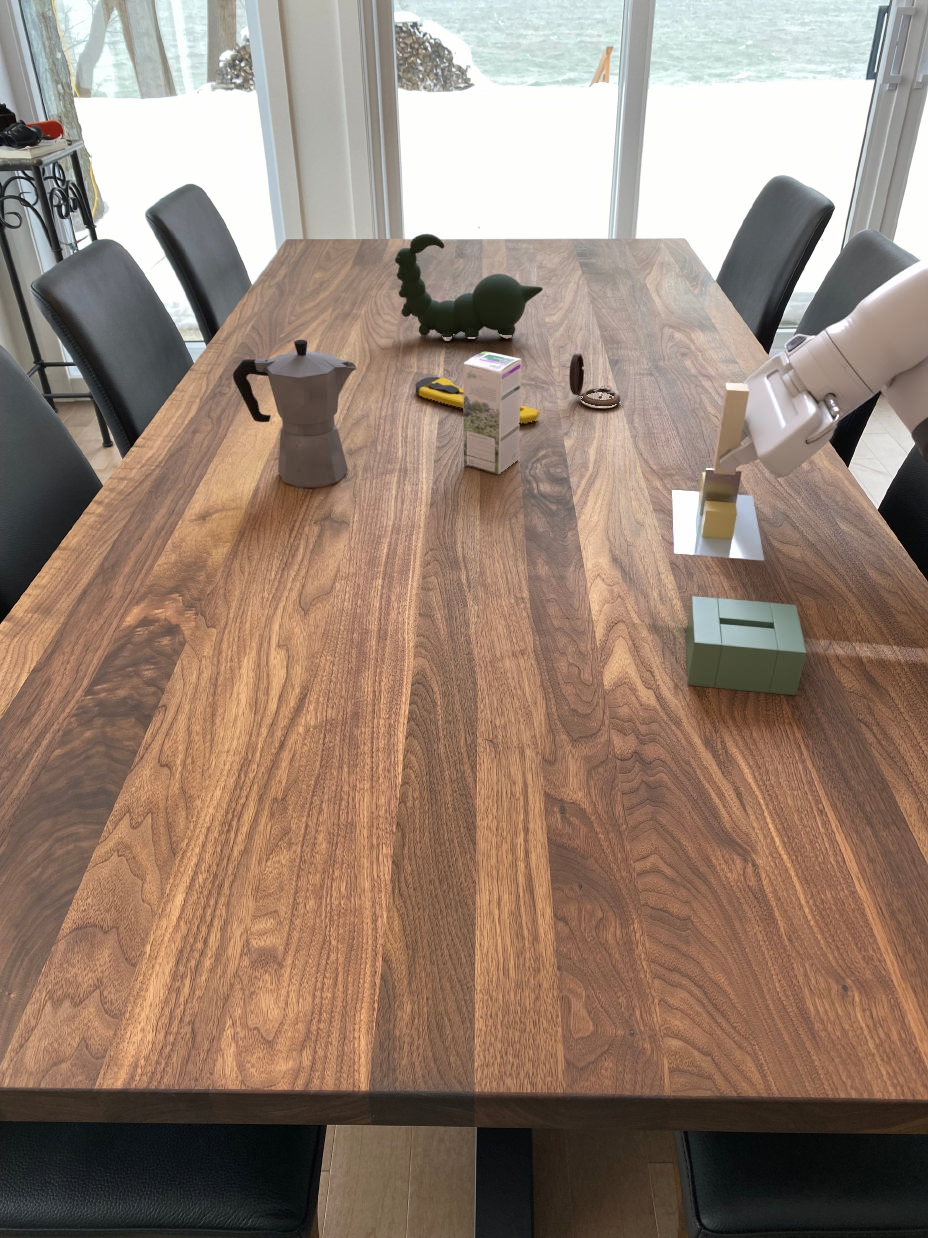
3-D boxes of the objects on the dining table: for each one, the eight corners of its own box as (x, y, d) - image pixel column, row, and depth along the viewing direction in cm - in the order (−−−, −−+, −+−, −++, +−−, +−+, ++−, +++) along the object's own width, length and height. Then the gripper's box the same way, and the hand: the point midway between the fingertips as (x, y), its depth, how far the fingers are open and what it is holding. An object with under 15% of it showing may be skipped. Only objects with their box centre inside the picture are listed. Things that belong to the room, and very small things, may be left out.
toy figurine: (403, 354, 173) (545, 344, 170) (389, 243, 162) (540, 230, 160) (409, 337, 181) (544, 327, 178) (395, 229, 170) (539, 217, 168)
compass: (616, 412, 147) (620, 365, 143) (565, 406, 149) (568, 359, 145) (626, 393, 153) (631, 348, 149) (577, 388, 155) (580, 342, 151)
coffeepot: (364, 457, 134) (356, 327, 124) (361, 488, 126) (352, 352, 116) (252, 459, 133) (234, 328, 123) (241, 490, 126) (221, 353, 115)
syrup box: (520, 460, 133) (524, 356, 125) (498, 476, 129) (500, 370, 121) (484, 450, 136) (485, 348, 127) (461, 466, 132) (461, 361, 123)
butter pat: (731, 529, 115) (735, 502, 113) (732, 539, 113) (737, 512, 111) (700, 526, 116) (705, 500, 114) (701, 537, 114) (705, 510, 112)
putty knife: (733, 512, 117) (755, 383, 108) (734, 522, 115) (757, 391, 106) (699, 510, 117) (718, 381, 108) (699, 519, 115) (719, 389, 106)
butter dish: (751, 502, 123) (752, 495, 122) (763, 568, 110) (764, 560, 109) (671, 496, 124) (672, 489, 124) (673, 560, 111) (674, 553, 111)
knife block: (685, 636, 99) (691, 595, 96) (786, 646, 98) (796, 604, 95) (687, 685, 92) (694, 642, 90) (796, 696, 91) (806, 652, 88)
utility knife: (431, 382, 157) (431, 370, 156) (551, 414, 146) (552, 402, 145) (404, 395, 152) (404, 383, 151) (526, 429, 142) (527, 416, 140)
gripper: (864, 439, 98) (749, 520, 104) (824, 367, 115) (727, 441, 121) (828, 395, 96) (712, 480, 102) (793, 329, 113) (696, 405, 119)
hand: (720, 458), depth 112 cm, fingers closed on putty knife, 2 cm apart
